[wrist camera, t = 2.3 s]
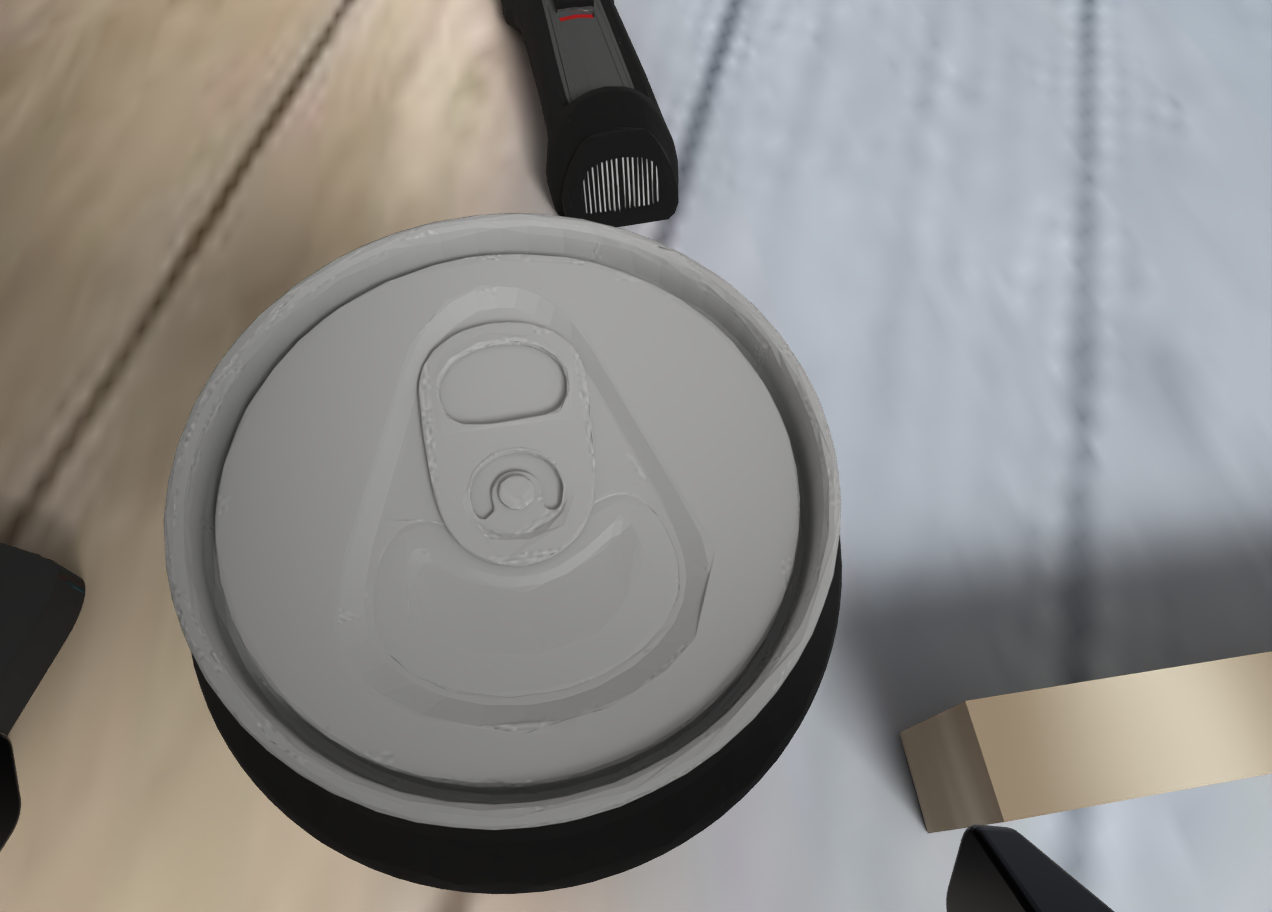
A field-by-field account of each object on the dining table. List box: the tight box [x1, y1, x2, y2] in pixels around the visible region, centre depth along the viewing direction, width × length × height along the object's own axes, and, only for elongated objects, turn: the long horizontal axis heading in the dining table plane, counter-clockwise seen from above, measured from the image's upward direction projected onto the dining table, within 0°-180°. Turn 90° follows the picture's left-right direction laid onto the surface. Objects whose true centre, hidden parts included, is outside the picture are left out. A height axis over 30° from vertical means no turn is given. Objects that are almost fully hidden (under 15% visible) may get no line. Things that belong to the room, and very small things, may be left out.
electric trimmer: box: [501, 0, 678, 227], centre depth 26 cm, size 4×16×3 cm, turn 14°
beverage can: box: [164, 213, 842, 894], centre depth 13 cm, size 7×7×12 cm
